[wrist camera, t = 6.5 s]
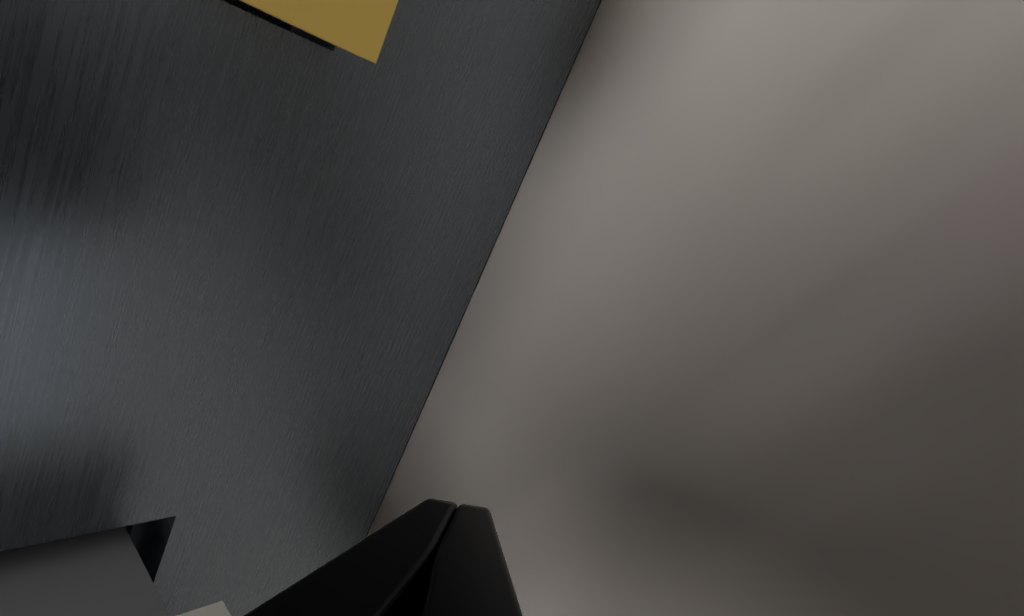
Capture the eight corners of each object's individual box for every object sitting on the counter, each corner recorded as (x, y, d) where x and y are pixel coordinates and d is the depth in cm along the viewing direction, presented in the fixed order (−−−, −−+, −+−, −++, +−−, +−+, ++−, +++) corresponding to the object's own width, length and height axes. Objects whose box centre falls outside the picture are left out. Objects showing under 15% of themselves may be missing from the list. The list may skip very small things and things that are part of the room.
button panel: (630, -68, 14) (10, -808, 5) (334, 607, 19) (-245, 837, 10) (503, -89, 16) (-73, -620, 7) (269, 517, 21) (-247, 637, 12)
